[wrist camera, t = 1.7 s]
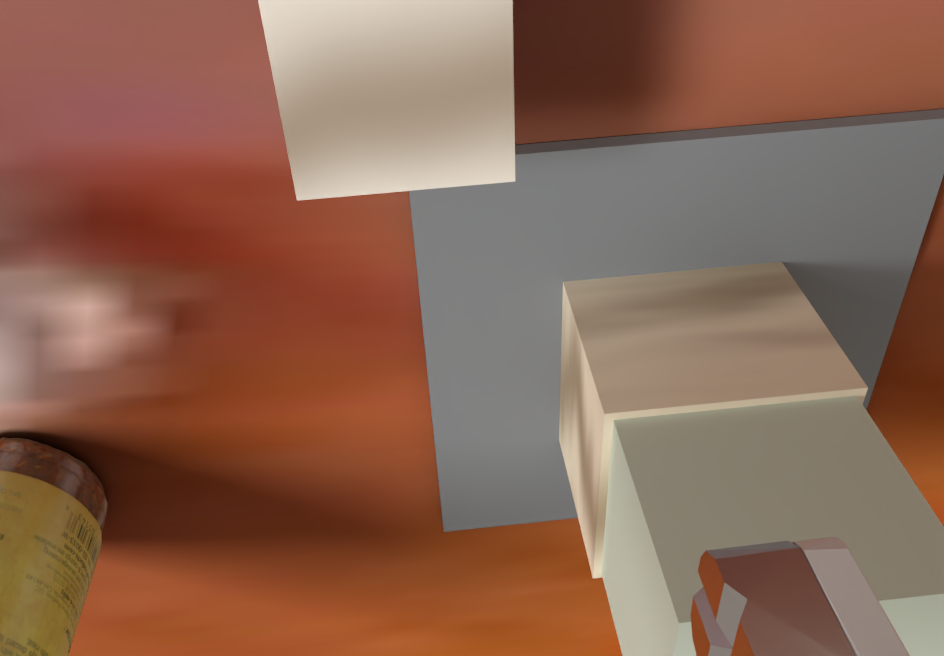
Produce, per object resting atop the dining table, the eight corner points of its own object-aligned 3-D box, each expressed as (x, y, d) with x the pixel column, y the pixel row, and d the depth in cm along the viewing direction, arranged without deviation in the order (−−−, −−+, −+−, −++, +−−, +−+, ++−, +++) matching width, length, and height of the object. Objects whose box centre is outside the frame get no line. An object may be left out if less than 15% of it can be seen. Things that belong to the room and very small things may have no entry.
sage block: (613, 419, 22) (678, 623, 18) (856, 395, 23) (985, 589, 18) (601, 572, 26) (651, 771, 22) (808, 550, 27) (902, 741, 22)
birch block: (563, 281, 27) (604, 413, 22) (781, 261, 27) (867, 387, 23) (558, 439, 31) (592, 578, 26) (747, 420, 32) (814, 554, 27)
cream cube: (274, -90, 20) (252, -29, 16) (484, -104, 21) (512, -49, 17) (308, 109, 23) (297, 200, 20) (490, 94, 24) (515, 181, 20)
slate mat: (405, 154, 24) (406, 164, 24) (951, 108, 25) (962, 116, 25) (442, 519, 34) (443, 532, 34) (833, 478, 35) (840, 490, 35)
